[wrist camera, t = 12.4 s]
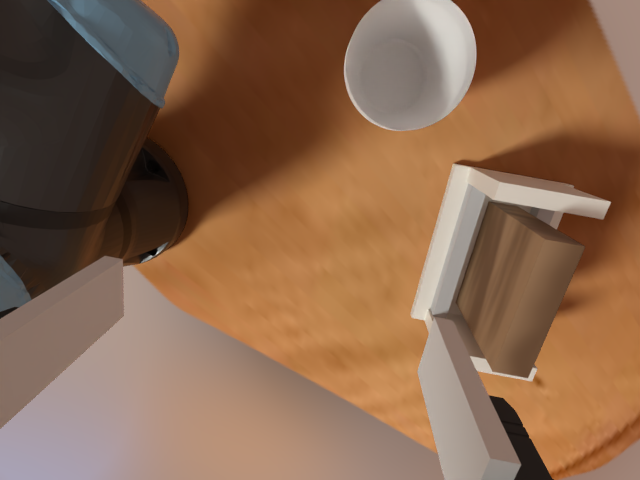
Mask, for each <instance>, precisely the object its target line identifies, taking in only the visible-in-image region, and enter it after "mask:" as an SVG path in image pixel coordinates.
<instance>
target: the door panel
mask: <svg viewBox="0 0 640 480" xmlns="http://www.w3.org/2000/svg"><path fill="white" fill-rule="evenodd" d="M584 249H585V246H584V245H582V244H580V243H578V242H577V241H575V240H573V239H572V238H570V237H568V236H567V235H565V234H563V233H562V232H560V231H558V230H557V229H555V228H553V227H552V226H550V225H548V224H547V223H545V222H543V221H541V220H540V219H538V218H536V217H535V216H533V215H531V214H530V213H528V212H526V211H525V210H523V209H521V208H520V207H518V206H513V205H508V204H502V203H496V202H491V201H489V202H488V205H487V208H486V211H485V214H484V217H483V220H482V223H481V226H480V229H479V232H478V235H477V238H476V241H475V245H474V248H473V251H472V254H471V257H470V260H469V263H468V266H467V269H466V272H465V275H464V278H463V281H462V284H461V287H460V290H459V293H458V296H457V300H456V304H457V306H458V308H459V310H460V312H461V313H462V315H463V317H464V319H465V321H466V323H467V325H468V327H469V328H470V330H471V332H472V334H473V336H474V338H475V340H476V342H477V343H478V345H479V347H480V349H481V351H482V353H483V355H484V356H485V358H486V360H487V362H488V364H489V366H490V368H491V370H492V371H493V372H497V373H503V374H508V375H513V376H519V377H524V378H528V377H529V375H530V373H531V370H532V368H533V366H534V363H535V361H536V359H537V357H538V354H539V352H540V350H541V347H542V345H543V343H544V340H545V338H546V336H547V334H548V331H549V329H550V327H551V324H552V322H553V320H554V318H555V315H556V313H557V311H558V308H559V306H560V304H561V301H562V299H563V297H564V295H565V292H566V290H567V288H568V285H569V283H570V281H571V279H572V276H573V274H574V272H575V269H576V267H577V265H578V262H579V260H580V258H581V256H582V253H583V251H584Z"/></svg>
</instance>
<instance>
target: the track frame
mask: <svg viewBox="0 0 640 480" xmlns="http://www.w3.org/2000/svg"><path fill="white" fill-rule="evenodd" d="M489 201H491V202H496V203H502V204H508V205H513V206H518V207H520V208H521V209H523V210H525V211H526V212H528V213H530V214H531V215H533V216H535V217H536V218H538V219H540V220H541V221H543V222H545V223H547V224H548V225H550V226H552V227H553V228H555V229H557V228H558V225H559V223H560V220H561V218H562V215H563V213H570V214H575V215H581V216H586V217H592V218H597V219H604V217H605V215H606V212H607V210H608V208H609V205H610V203H611V202H610V201H607V200H604V199H602V198H599V197H596V196H593V195H591V194H588V193H585V192H582V191H580V190H577V189H574V186H573V185H571V184H567V183H561V182H555V181H550V180H544V179H539V178H533V177H527V176H522V175H516V174H511V173H505V172H499V171H494V170H488V169H483V168H477V167H471V166H466V165H460V164H454V163H453V166H452V169H451V173H450V176H449V180H448V183H447V187H446V190H445V194H444V197H443V201H442V204H441V208H440V211H439V215H438V218H437V222H436V226H435V229H434V233H433V236H432V240H431V243H430V247H429V250H428V254H427V257H426V261H425V264H424V268H423V271H422V275H421V278H420V282H419V285H418V289H417V292H416V296H415V299H414V303H413V306H412V310H411V317H412V318H415V319H421V320H425V323H426V326H427V329H428V332H429V333H430V329H431V326H432V323H433V320H434V317H436V318H442V319H447V320H452V321H453V322H454V324H455V326H456V328H457V330H458V333H459V335H460V337H461V339H462V341H463V343H464V345H465V347H466V349H467V351H468V354H469V356H470V358H471V360H472V362H473V364H474V366H475V368H476V370H477V371H480V372H485V373H490V374H496V375H501V376H506V377H512V378H517V379H522V380H528V381H532V380H533V378H534V375H535V373H536V371H537V367H536V366H535V365H534V366H533V368H532V370H531V373H530V375H529V377H528V378H524V377H519V376H513V375H508V374H503V373H497V372H493V371H492V370H491V368H490V366H489V364H488V362H487V360H486V358H485V356H484V355H483V353H482V351H481V349H480V347H479V345H478V343H477V342H476V340H475V338H474V336H473V334H472V332H471V330H470V328H469V327H468V325H467V323H466V321H465V319H464V317H463V315H462V313H461V312H460V310H459V308H458V306H457V304H456V300H457V296H458V293H459V290H460V287H461V284H462V281H463V278H464V275H465V272H466V269H467V266H468V263H469V260H470V257H471V254H472V251H473V248H474V245H475V241H476V238H477V235H478V232H479V229H480V226H481V223H482V220H483V217H484V214H485V211H486V208H487V205H488V202H489Z"/></svg>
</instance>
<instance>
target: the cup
mask: <svg viewBox="0 0 640 480" xmlns="http://www.w3.org/2000/svg"><path fill="white" fill-rule="evenodd" d="M476 55H477V53H476V42H475V37H474V33H473V30H472V27H471V25H470V23H469V21H468V19H467V17H466V16H465V14H464V13H463V12H462V10H461V9H460V8H459V7H458V6H457V5H456V4H455V3H453V2H452V1H451V0H381V1H380V2H378V3H377V4H376V5H374V6H373V7H372V8H371V9H370V10H369V11H368V12H367V13H366V14H365V15H364V17H363V18H362V19H361V20H360V22H359V24H358V25H357V27H356V29H355V31H354V33H353V35H352V37H351V40H350V42H349V44H348V48H347V51H346V55H345V62H344V78H345V84H346V88H347V91H348V94H349V97H350V99H351V101H352V103H353V104H354V106H355V107H356V109H357V110H358V111H359V112H360V113H361V115H363V116H364V117H365V118H366V119H367V120H369V121H370V122H372V123H373V124H375V125H377V126H379V127H382V128H385V129H389V130H395V131H407V130H416V129H421V128H424V127H427V126H430V125H432V124H434V123H436V122H438V121H440V120H441V119H443V118H444V117H445V116H447V115H448V114H449V113H450V112H451V111H453V110H454V108H455V107H456V106H457V105H458V104H459V103H460V101H461V100H462V99H463V97H464V96H465V94H466V92H467V90H468V88H469V86H470V84H471V81H472V78H473V75H474V71H475V66H476Z"/></svg>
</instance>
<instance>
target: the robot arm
mask: <svg viewBox="0 0 640 480" xmlns="http://www.w3.org/2000/svg"><path fill="white" fill-rule="evenodd" d="M178 59H179V46H178V42H177V39H176V36H175V34H174V32H173V31H172V29H171V28H170V27H169V25H168V24H167V23H166V22H165V21H164V20H163V19H162V18H161V17H160V16H158V15H157V14H156V13H155V12H154V11H153V10H151V9H150V8H149V7H148V6H147V5H146V4H144V3H143V2H142V1H141V0H0V429H1V428H2V427H3V426H4V425H5V424H6V423H7V422H8V421H9V420H11V419H12V418H13V417H14V416H15V415H16V414H17V413H18V412H19V411H20V410H21V409H23V408H24V407H25V406H26V405H27V404H28V403H29V402H30V401H31V400H32V399H33V398H35V397H36V396H37V395H38V394H39V393H40V392H41V391H42V390H43V389H44V388H46V386H48V385H49V384H50V383H51V382H52V381H53V380H54V379H55V378H56V377H57V376H59V375H60V374H61V373H62V372H63V371H64V370H65V369H66V368H67V367H68V366H70V365H71V364H72V363H73V362H74V361H75V360H76V359H77V358H78V357H79V356H80V355H81V354H83V353H84V352H85V351H86V350H87V349H88V348H89V347H90V346H91V345H92V344H94V342H96V341H97V340H98V339H99V338H100V337H101V336H102V335H103V334H104V333H106V332H107V331H108V330H109V329H110V328H111V327H112V326H113V325H114V324H115V323H117V322H118V321H119V320H120V319H121V318H122V317H123V316H124V305H123V266H129V265H135V264H140V263H143V262H146V261H149V260H151V259H153V258H155V257H157V256H158V255H160V254H161V253H163V252H164V251H165V250H167V249H168V248H169V247H170V246H171V245H173V244H174V242H175V241H176V240H177V239H178V238H179V236H180V235H181V233H182V231H183V229H184V226H185V223H186V220H187V215H188V197H187V191H186V187H185V184H184V181H183V178H182V176H181V174H180V172H179V170H178V168H177V167H176V165H175V164H174V162H173V161H172V159H171V158H170V157H169V156H168V155H167V154H166V152H165V151H164V150H163V149H161V148H160V147H159V146H158V145H157V144H155V143H154V142H153V141H151V140H150V139H148V138H147V135H148V133H149V130H150V128H151V126H152V124H153V122H154V120H155V118H156V116H157V114H158V111H159V109H160V108H163V107H164V105H165V100H164V96H165V94H166V91H167V88H168V85H169V83H170V80H171V78H172V75H173V73H174V70H175V68H176V65H177V62H178ZM417 372H418V376H419V380H420V384H421V388H422V392H423V396H424V400H425V404H426V408H427V412H428V416H429V420H430V424H431V428H432V431H433V435H434V439H435V443H436V447H437V451H438V455H439V459H440V463H441V467H442V471H443V475H444V479H445V480H554V479H552V478H551V476H550V474H549V472H548V470H547V468H546V466H545V465H544V463H543V461H542V459H541V457H540V455H539V454H538V452H537V450H536V448H535V446H534V444H533V442H532V441H531V439H530V438H529V435H528V433H527V431H526V429H525V428H524V427H523V424H522V422H521V420H520V418H519V417H518V415H517V413H516V411H515V410H514V409H513V408H512V407H511V406H510V405H509V404H508V403H507V402H506V401H505V400H504V399H503V398H500V397H494V396H489V395H488V393H487V391H486V389H485V387H484V385H483V383H482V381H481V379H480V377H479V375H478V372H477V370H476V368H475V366H474V364H473V362H472V360H471V358H470V356H469V354H468V351H467V349H466V347H465V345H464V343H463V341H462V339H461V337H460V335H459V333H458V330H457V328H456V326H455V324H454V322H453V321H452V320H447V319H442V318H436V317H434V320H433V323H432V326H431V329H430V333H429V336H428V339H427V342H426V346H425V349H424V352H423V355H422V358H421V362H420V365H419V368H418V371H417Z"/></svg>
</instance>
